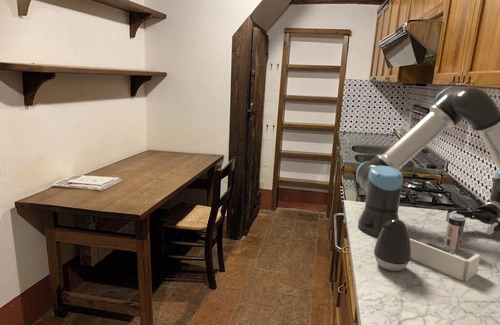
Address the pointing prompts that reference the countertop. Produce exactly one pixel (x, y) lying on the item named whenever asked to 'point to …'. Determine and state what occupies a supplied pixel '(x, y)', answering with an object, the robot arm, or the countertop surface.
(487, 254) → the countertop surface
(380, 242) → the black glossy domed part
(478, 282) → the countertop surface
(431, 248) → the walled box
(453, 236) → the beer can
